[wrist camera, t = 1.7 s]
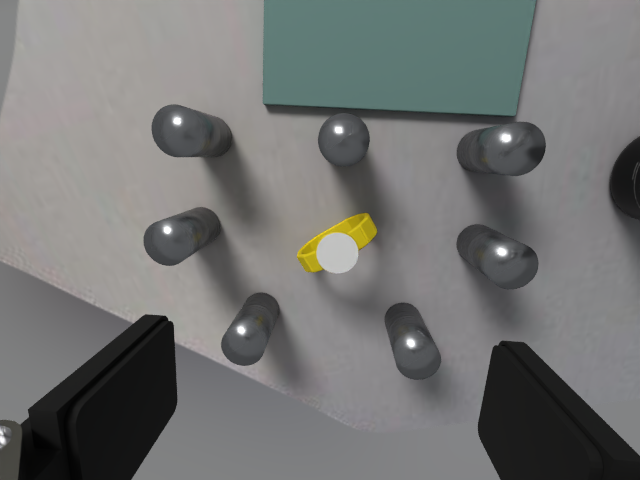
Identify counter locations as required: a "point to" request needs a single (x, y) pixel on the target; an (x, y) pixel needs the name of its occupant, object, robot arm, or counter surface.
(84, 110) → the counter surface
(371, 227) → the watch
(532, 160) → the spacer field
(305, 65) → the mat
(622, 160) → the supplement bottle
